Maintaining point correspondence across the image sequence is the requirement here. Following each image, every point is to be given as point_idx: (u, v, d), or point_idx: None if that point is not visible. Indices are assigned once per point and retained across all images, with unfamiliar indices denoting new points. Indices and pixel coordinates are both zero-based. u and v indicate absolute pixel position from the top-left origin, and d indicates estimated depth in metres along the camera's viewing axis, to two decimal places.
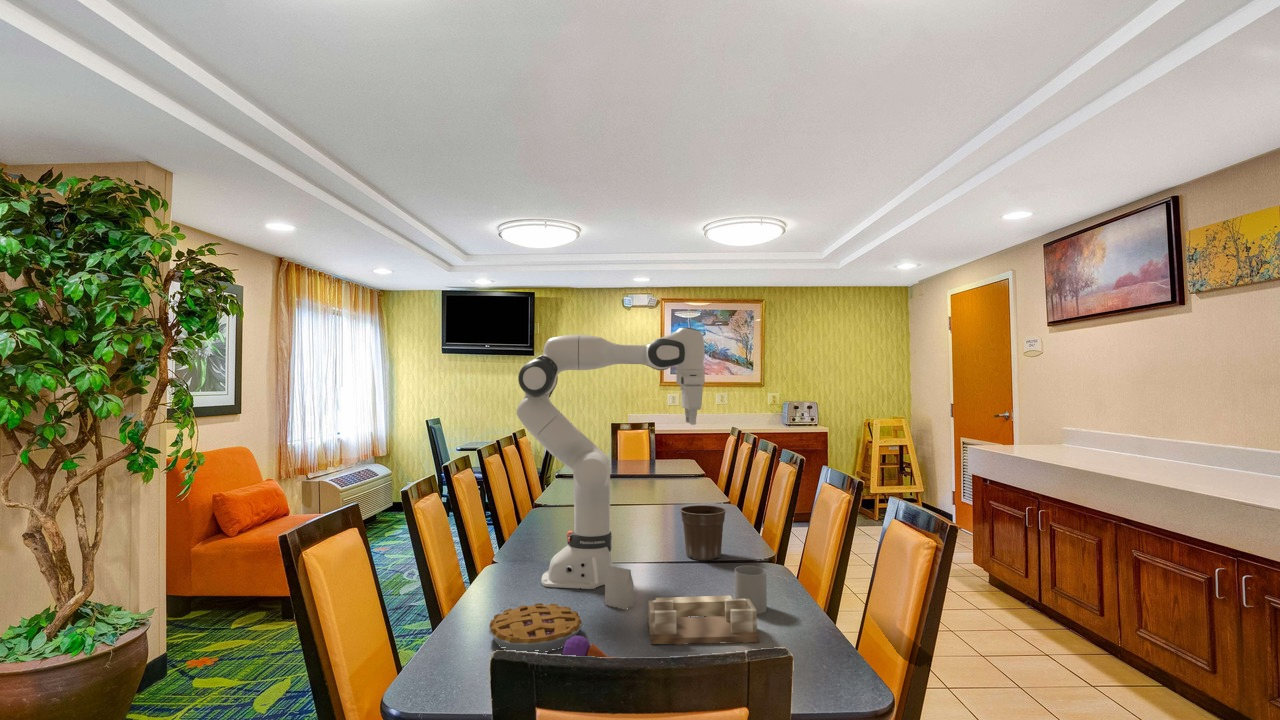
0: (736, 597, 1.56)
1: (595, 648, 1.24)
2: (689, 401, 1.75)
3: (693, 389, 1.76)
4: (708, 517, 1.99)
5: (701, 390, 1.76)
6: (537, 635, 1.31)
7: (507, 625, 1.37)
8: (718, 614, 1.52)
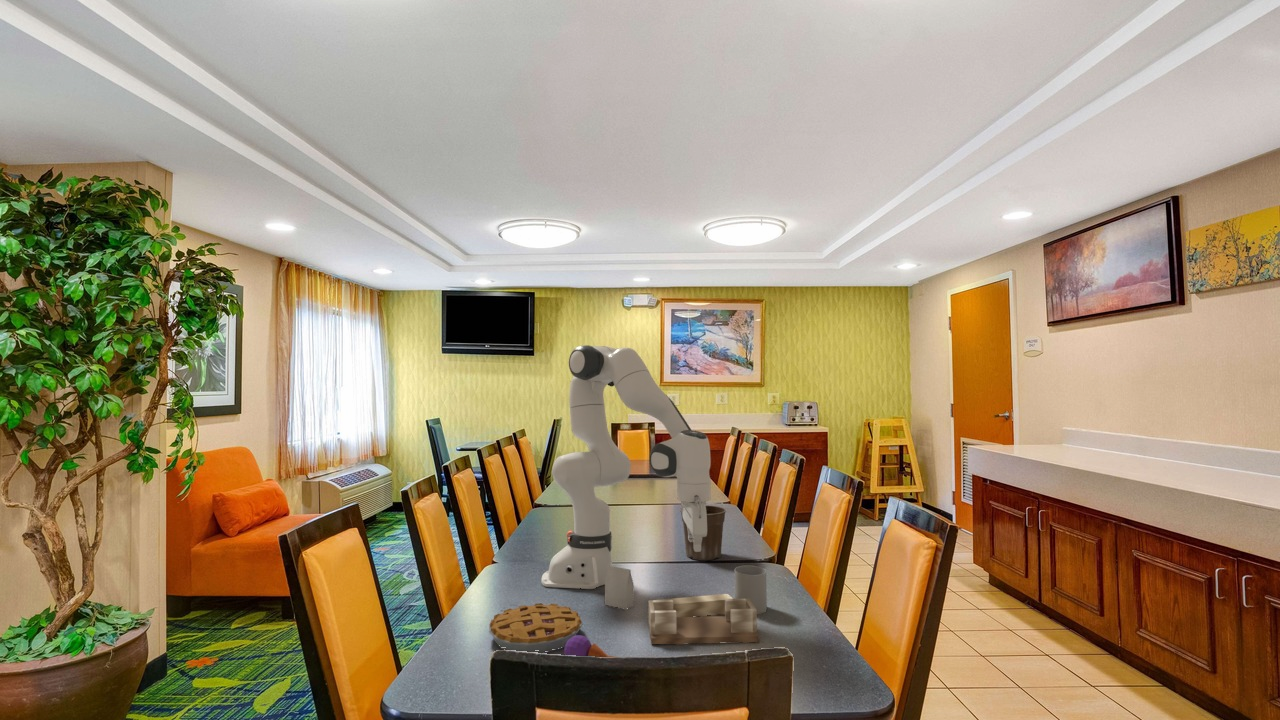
0: (736, 597, 1.56)
1: (596, 648, 1.25)
2: None
3: None
4: (708, 517, 1.99)
5: None
6: (537, 635, 1.31)
7: (507, 625, 1.37)
8: (718, 613, 1.53)
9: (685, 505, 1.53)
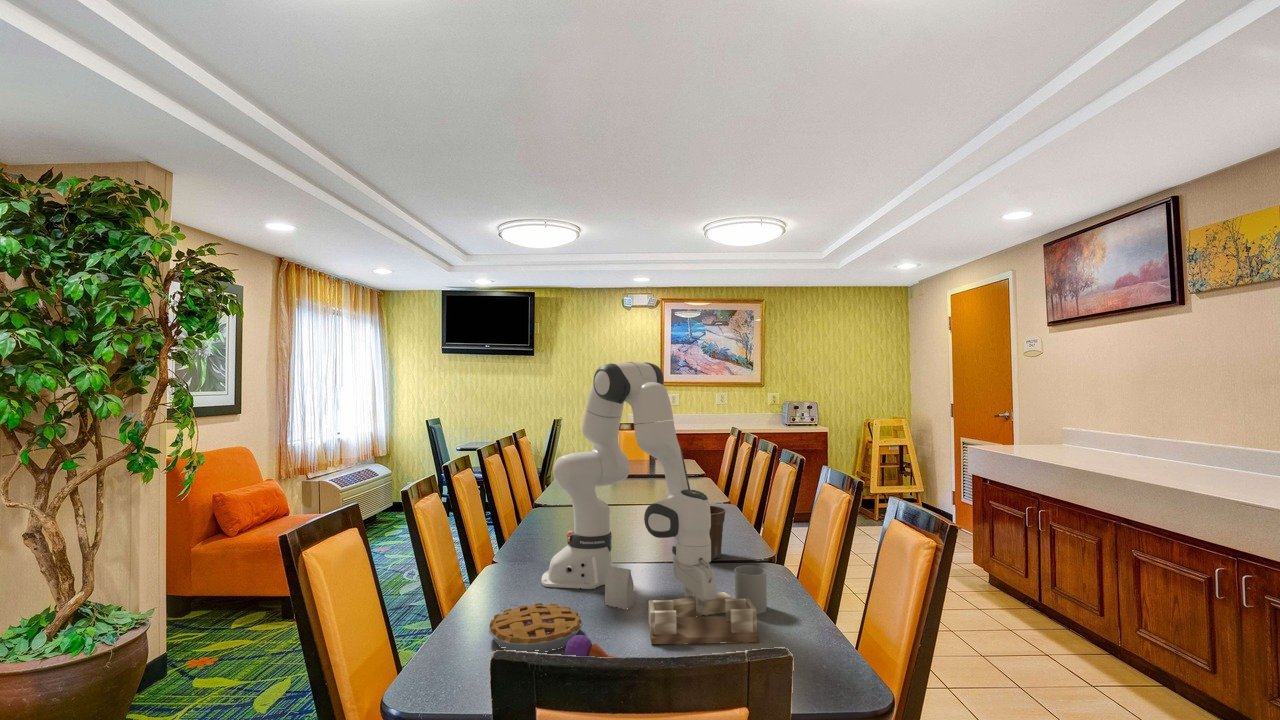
0: (736, 597, 1.56)
1: (597, 648, 1.25)
2: None
3: None
4: None
5: None
6: (537, 635, 1.31)
7: (507, 625, 1.37)
8: (718, 611, 1.54)
9: (687, 567, 1.52)
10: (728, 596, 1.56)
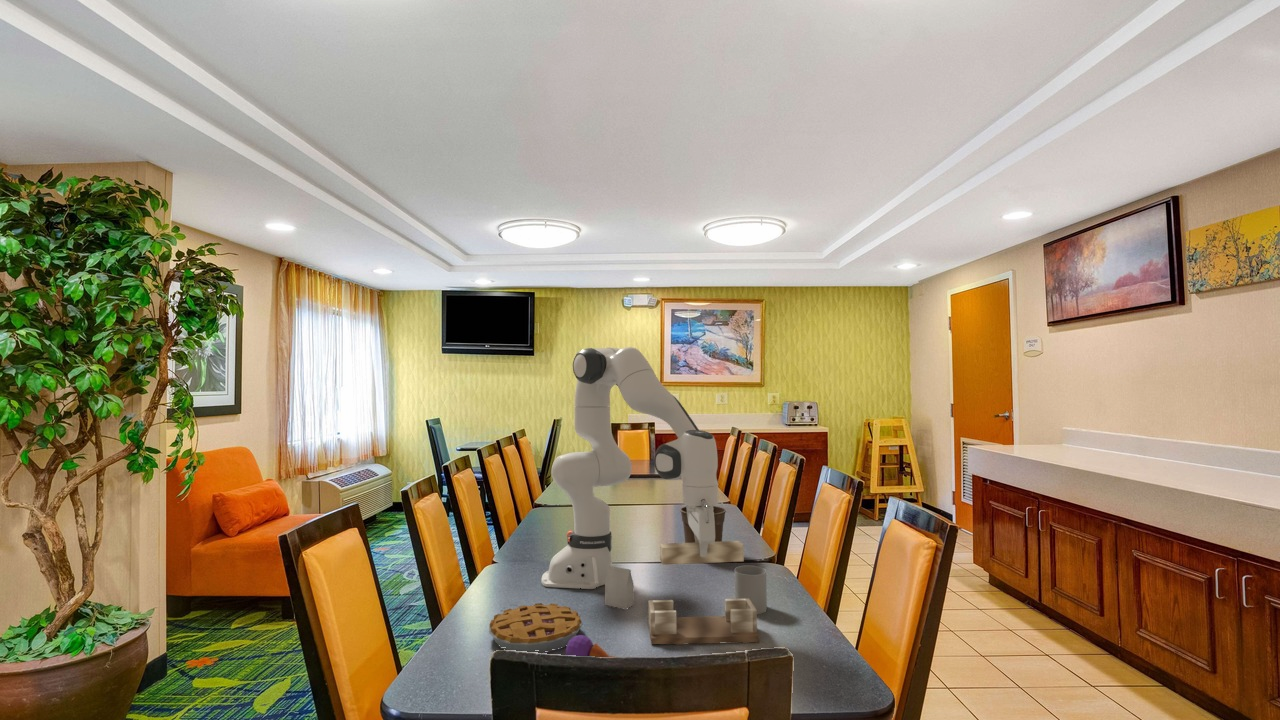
0: (736, 597, 1.56)
1: (597, 648, 1.25)
2: None
3: None
4: None
5: None
6: (537, 635, 1.31)
7: (507, 625, 1.37)
8: (727, 559, 1.44)
9: (691, 509, 1.44)
10: (739, 544, 1.45)
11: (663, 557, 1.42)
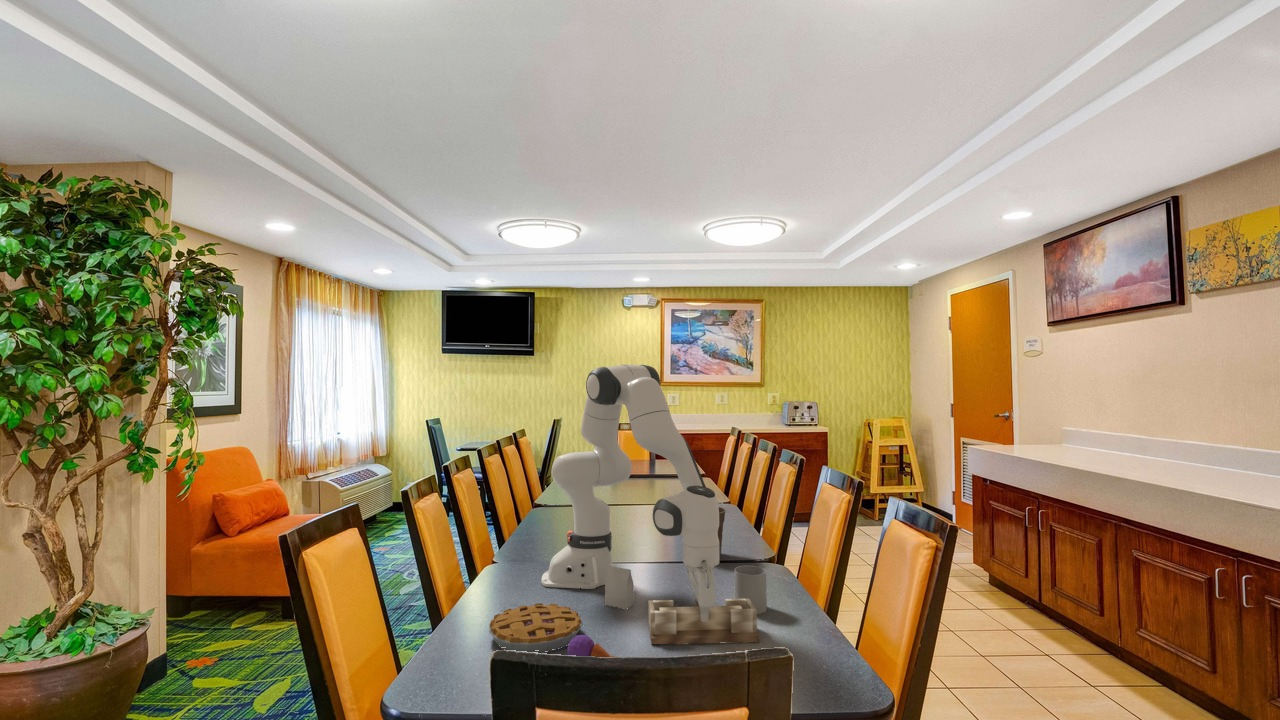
0: (736, 597, 1.56)
1: (599, 648, 1.25)
2: None
3: None
4: None
5: None
6: (537, 635, 1.31)
7: (507, 625, 1.37)
8: (727, 626, 1.40)
9: (691, 569, 1.40)
10: None
11: None
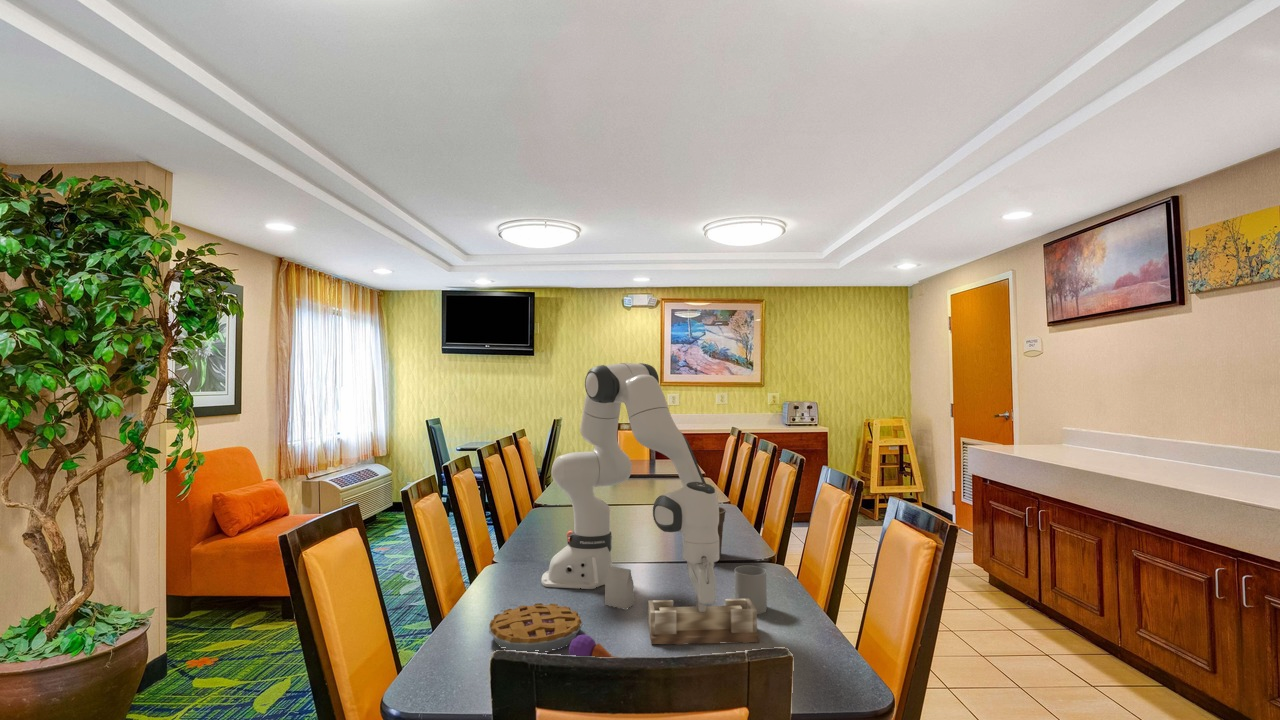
0: (736, 597, 1.56)
1: (600, 648, 1.25)
2: None
3: None
4: None
5: None
6: (537, 635, 1.31)
7: (507, 625, 1.37)
8: (727, 626, 1.40)
9: (691, 566, 1.40)
10: None
11: None
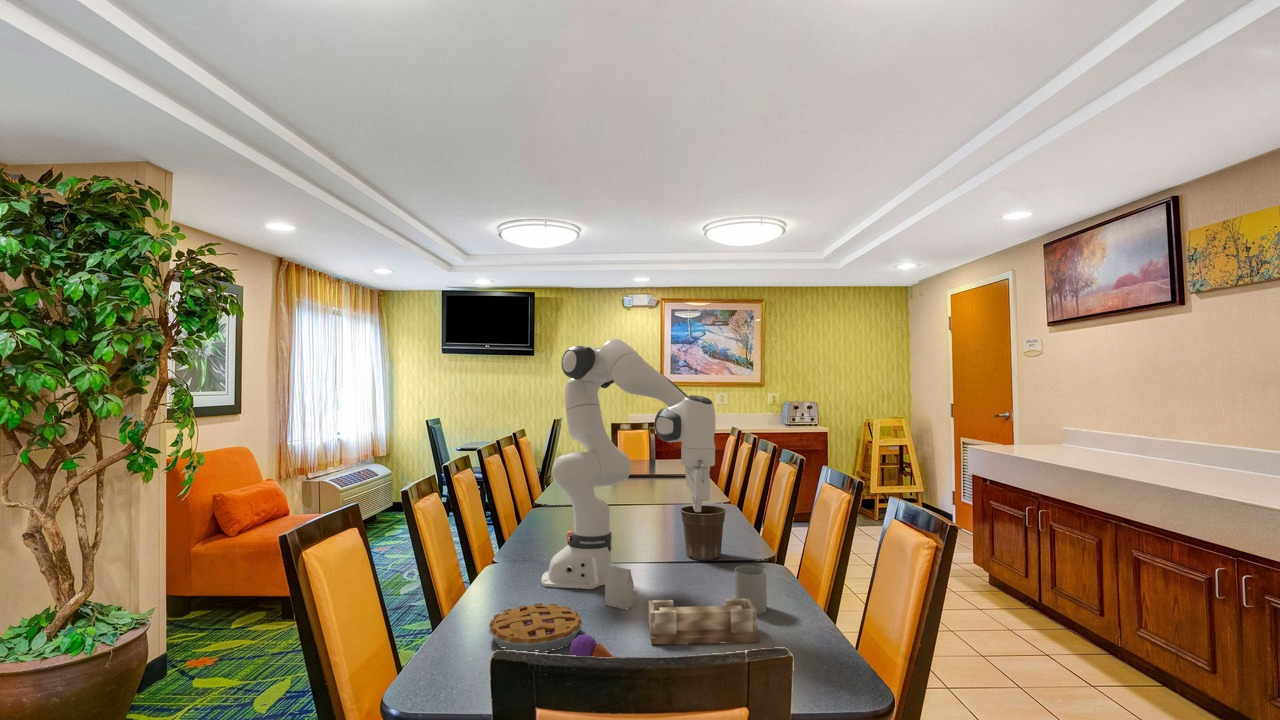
0: (736, 597, 1.56)
1: (601, 648, 1.25)
2: None
3: None
4: (708, 517, 1.99)
5: None
6: (537, 635, 1.31)
7: (507, 625, 1.37)
8: (727, 626, 1.40)
9: (689, 470, 1.53)
10: None
11: None
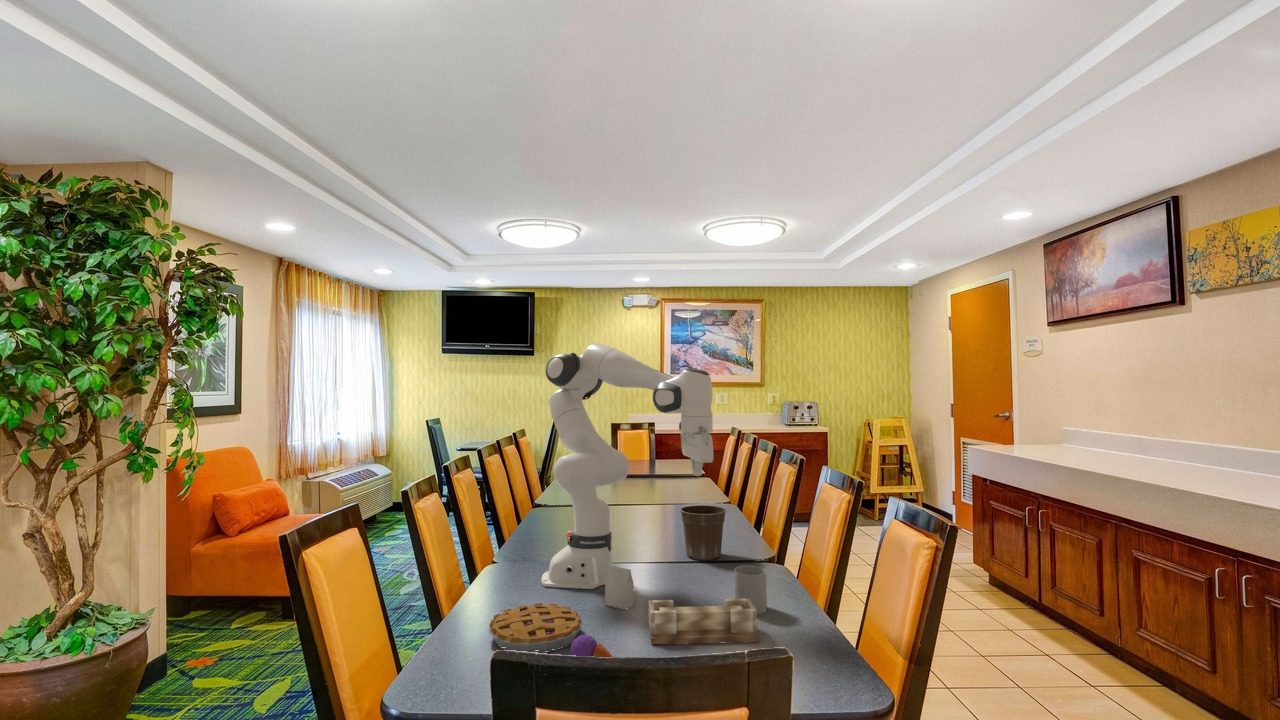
0: (736, 597, 1.56)
1: (601, 648, 1.25)
2: None
3: None
4: (708, 517, 1.99)
5: None
6: (537, 635, 1.31)
7: (507, 625, 1.37)
8: (727, 626, 1.40)
9: (689, 437, 1.64)
10: None
11: None
